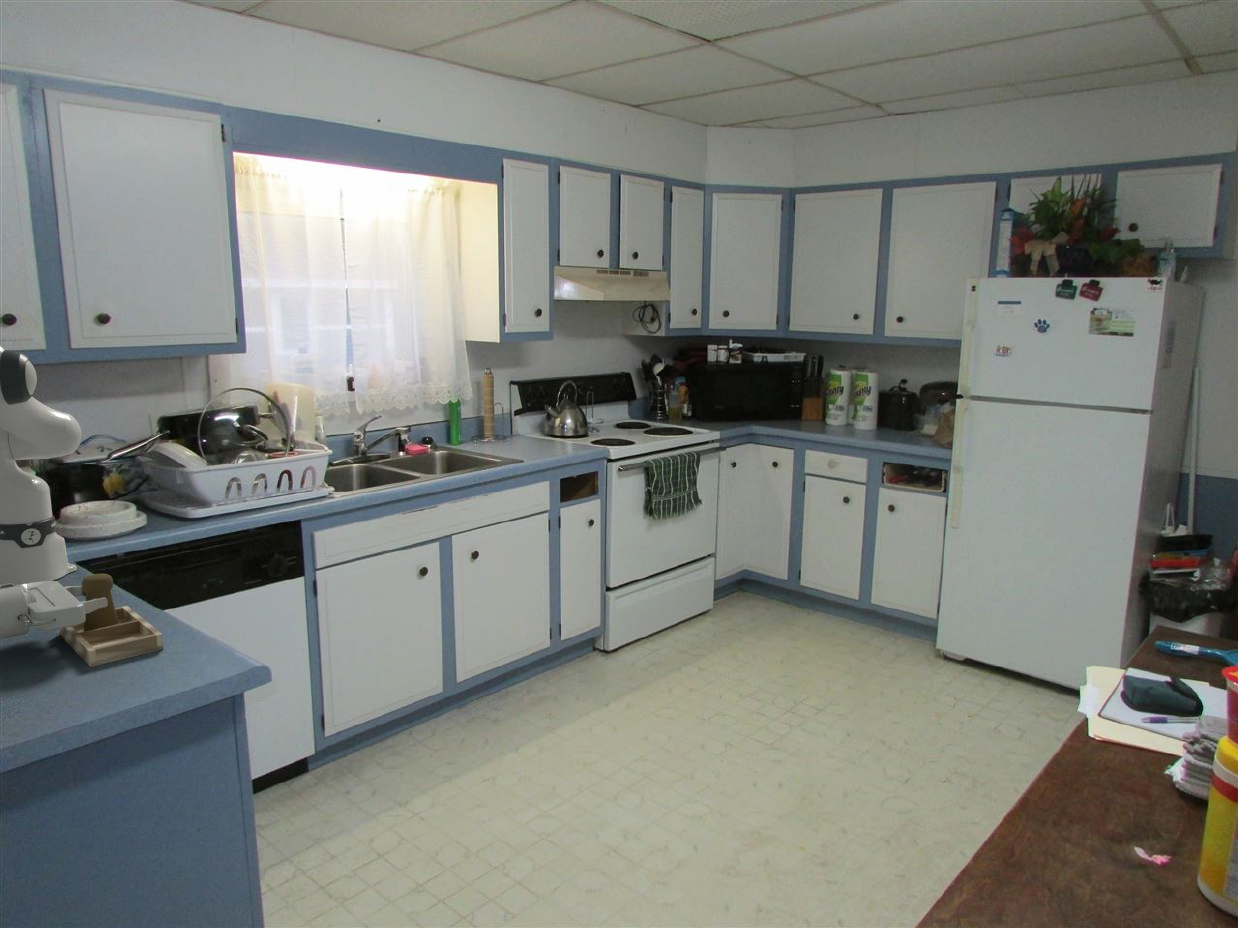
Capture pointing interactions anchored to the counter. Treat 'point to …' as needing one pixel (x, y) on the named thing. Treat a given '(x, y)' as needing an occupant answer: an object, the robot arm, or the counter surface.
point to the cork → (97, 588)
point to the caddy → (114, 639)
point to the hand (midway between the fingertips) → (99, 595)
